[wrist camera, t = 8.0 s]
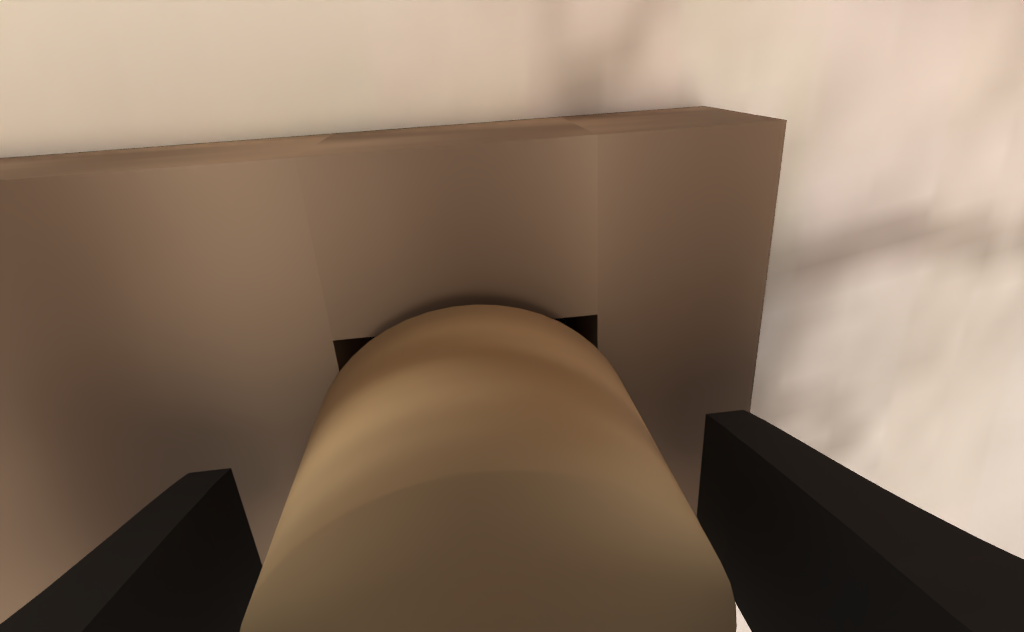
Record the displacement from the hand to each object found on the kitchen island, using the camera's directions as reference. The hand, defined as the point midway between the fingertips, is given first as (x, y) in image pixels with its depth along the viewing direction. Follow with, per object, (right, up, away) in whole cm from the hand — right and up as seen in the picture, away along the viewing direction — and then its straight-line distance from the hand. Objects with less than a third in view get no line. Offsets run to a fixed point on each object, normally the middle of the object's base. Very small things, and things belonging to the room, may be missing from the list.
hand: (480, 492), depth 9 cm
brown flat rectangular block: (-3, +1, +4) cm, 5 cm away
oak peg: (0, +2, +4) cm, 5 cm away
